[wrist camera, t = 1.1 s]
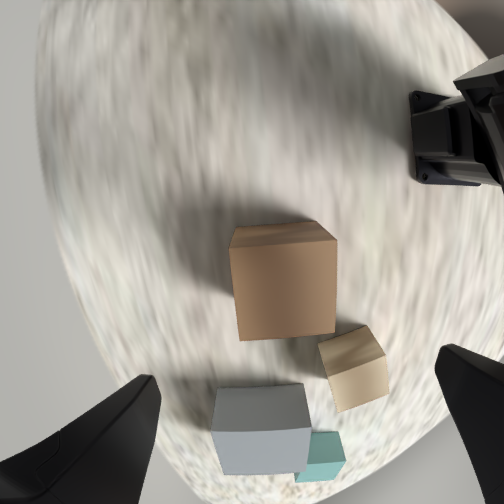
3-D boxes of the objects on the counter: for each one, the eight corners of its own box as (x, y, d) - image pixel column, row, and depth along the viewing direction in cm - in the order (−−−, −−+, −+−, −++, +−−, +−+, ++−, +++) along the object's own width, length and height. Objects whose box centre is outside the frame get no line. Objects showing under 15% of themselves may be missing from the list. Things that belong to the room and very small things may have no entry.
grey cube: (303, 382, 21) (311, 427, 17) (300, 431, 23) (305, 471, 18) (217, 386, 22) (210, 431, 17) (228, 434, 23) (224, 474, 19)
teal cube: (338, 431, 23) (346, 461, 19) (327, 451, 24) (333, 479, 21) (299, 432, 23) (303, 464, 19) (292, 453, 24) (295, 482, 20)
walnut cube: (315, 220, 18) (337, 240, 13) (317, 293, 19) (334, 332, 14) (236, 226, 18) (228, 248, 13) (243, 299, 19) (239, 341, 14)
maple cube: (366, 324, 20) (386, 355, 16) (372, 362, 21) (389, 393, 17) (317, 343, 20) (327, 377, 16) (327, 378, 21) (337, 413, 17)
